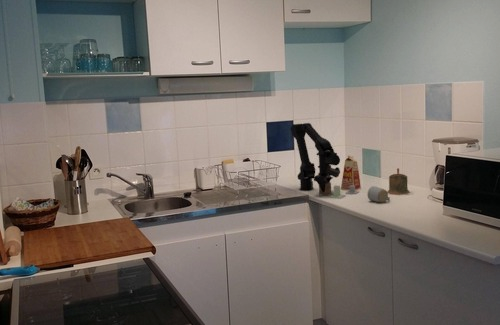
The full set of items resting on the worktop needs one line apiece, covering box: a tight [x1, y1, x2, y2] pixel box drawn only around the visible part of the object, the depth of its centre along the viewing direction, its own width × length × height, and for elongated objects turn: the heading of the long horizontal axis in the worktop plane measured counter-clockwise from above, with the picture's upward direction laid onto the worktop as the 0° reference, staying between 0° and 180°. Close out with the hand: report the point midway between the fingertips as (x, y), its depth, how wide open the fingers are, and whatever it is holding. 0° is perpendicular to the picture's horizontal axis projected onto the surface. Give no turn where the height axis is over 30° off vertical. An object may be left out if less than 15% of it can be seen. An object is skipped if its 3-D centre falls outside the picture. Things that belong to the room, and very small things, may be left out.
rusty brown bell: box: [387, 167, 410, 196], centre depth 285 cm, size 12×18×12 cm, turn 164°
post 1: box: [328, 184, 346, 199], centre depth 279 cm, size 7×7×6 cm
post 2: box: [345, 185, 360, 195], centre depth 287 cm, size 6×6×4 cm
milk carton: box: [340, 155, 362, 192], centre depth 297 cm, size 9×9×20 cm
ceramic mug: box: [367, 185, 391, 204], centre depth 264 cm, size 11×8×8 cm
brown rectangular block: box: [318, 181, 332, 196], centre depth 289 cm, size 5×5×6 cm
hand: (325, 191), depth 289 cm, fingers closed on brown rectangular block, 5 cm apart
